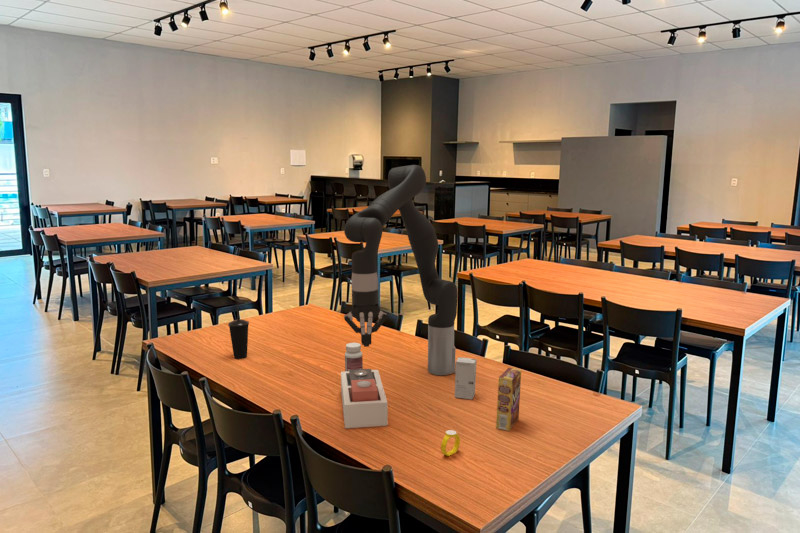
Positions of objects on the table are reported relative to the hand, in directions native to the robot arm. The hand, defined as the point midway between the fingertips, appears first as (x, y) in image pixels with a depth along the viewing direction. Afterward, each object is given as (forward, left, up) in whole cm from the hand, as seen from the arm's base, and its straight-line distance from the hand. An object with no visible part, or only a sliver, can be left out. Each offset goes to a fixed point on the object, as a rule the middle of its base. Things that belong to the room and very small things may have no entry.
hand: (366, 345), depth 164 cm
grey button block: (+1, -11, -20) cm, 22 cm away
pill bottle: (+2, -31, -21) cm, 38 cm away
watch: (-19, +27, -21) cm, 39 cm away
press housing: (+1, -5, -21) cm, 22 cm away
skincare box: (-32, -8, -21) cm, 39 cm away
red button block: (+1, +2, -18) cm, 19 cm away
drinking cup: (+44, -58, -21) cm, 75 cm away
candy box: (-39, +13, -21) cm, 46 cm away
